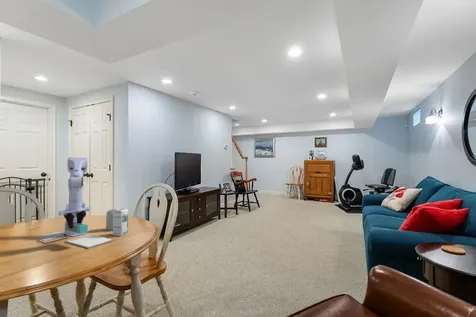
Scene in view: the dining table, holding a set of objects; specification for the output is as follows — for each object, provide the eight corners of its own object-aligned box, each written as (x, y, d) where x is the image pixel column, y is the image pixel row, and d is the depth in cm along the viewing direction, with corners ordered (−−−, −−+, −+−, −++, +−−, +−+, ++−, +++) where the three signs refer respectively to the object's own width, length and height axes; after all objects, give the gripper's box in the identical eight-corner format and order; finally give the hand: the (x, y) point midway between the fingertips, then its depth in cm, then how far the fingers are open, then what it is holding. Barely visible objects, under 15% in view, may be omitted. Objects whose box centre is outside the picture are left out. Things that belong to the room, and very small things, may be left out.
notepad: (64, 242, 127) (64, 240, 127) (91, 235, 140) (91, 234, 140) (87, 248, 119) (88, 247, 119) (113, 240, 132) (113, 239, 132)
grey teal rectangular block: (65, 229, 126) (65, 222, 126) (72, 228, 129) (72, 221, 129) (80, 233, 120) (80, 226, 120) (87, 232, 124) (87, 224, 124)
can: (122, 228, 155) (122, 209, 155) (112, 231, 148) (113, 211, 148) (112, 227, 157) (113, 208, 158) (103, 230, 150) (103, 210, 151)
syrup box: (121, 236, 139) (122, 210, 139) (112, 235, 140) (112, 209, 140) (127, 233, 145) (128, 208, 145) (119, 232, 146) (119, 208, 146)
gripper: (64, 203, 117) (63, 232, 117) (94, 199, 130) (93, 225, 130) (56, 202, 120) (55, 230, 120) (86, 198, 133) (85, 223, 133)
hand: (74, 227), depth 125 cm, fingers closed on grey teal rectangular block, 3 cm apart
